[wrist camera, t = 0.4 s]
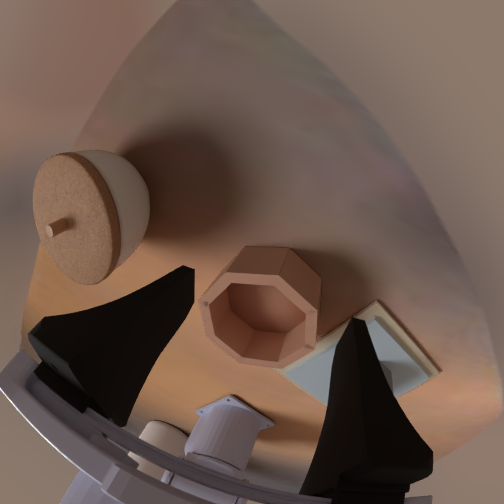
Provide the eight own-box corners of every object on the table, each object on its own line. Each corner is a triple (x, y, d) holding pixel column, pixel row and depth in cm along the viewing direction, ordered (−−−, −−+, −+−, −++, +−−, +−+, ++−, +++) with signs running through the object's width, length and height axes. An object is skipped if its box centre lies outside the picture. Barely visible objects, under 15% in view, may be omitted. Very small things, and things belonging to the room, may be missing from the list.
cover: (348, 415, 28) (346, 442, 24) (286, 370, 27) (278, 400, 23) (428, 374, 22) (434, 404, 19) (374, 315, 22) (378, 348, 18)
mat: (347, 418, 29) (347, 420, 28) (274, 366, 28) (273, 369, 27) (439, 371, 22) (439, 373, 22) (376, 299, 21) (376, 302, 21)
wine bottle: (176, 422, 41) (100, 549, 15) (201, 448, 44) (140, 562, 17) (141, 415, 44) (68, 522, 18) (166, 440, 47) (106, 540, 21)
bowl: (273, 346, 26) (261, 379, 23) (204, 288, 26) (182, 316, 22) (342, 298, 22) (341, 332, 18) (265, 225, 22) (248, 248, 18)
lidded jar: (192, 185, 22) (114, 222, 14) (144, 268, 27) (83, 319, 19) (111, 121, 21) (29, 132, 13) (80, 206, 27) (15, 237, 18)
